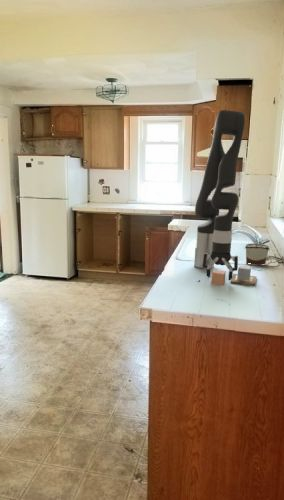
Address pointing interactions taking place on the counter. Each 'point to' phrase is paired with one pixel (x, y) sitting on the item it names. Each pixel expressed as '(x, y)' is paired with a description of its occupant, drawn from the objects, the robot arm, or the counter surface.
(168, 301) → the counter surface
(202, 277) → the counter surface
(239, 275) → the slate block
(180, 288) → the counter surface
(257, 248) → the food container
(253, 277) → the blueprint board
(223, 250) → the robot arm
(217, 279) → the terracotta block
